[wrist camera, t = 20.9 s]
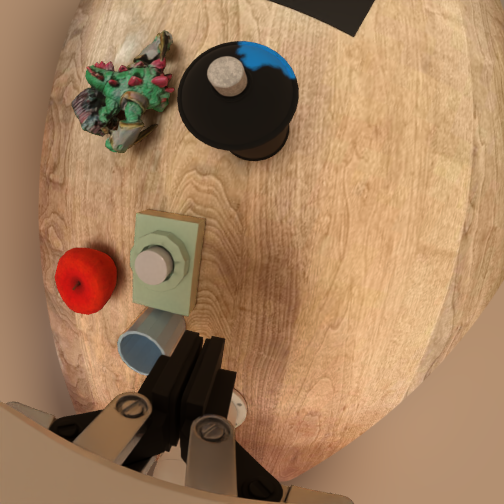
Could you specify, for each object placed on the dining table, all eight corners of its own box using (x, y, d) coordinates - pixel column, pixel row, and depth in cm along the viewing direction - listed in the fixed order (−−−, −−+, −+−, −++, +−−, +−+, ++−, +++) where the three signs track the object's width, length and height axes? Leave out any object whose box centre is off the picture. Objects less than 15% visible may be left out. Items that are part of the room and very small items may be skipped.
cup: (184, 346, 41) (166, 382, 33) (143, 335, 41) (119, 366, 33) (187, 308, 39) (167, 340, 31) (143, 296, 39) (116, 324, 31)
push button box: (195, 305, 39) (184, 324, 33) (142, 292, 39) (125, 308, 34) (206, 218, 35) (193, 227, 30) (148, 209, 36) (128, 215, 30)
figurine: (111, 183, 30) (217, 108, 27) (38, 116, 21) (147, 16, 17) (124, 137, 38) (206, 78, 35) (71, 83, 29) (156, 13, 25)
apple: (76, 240, 38) (44, 254, 30) (122, 238, 37) (91, 253, 30) (87, 294, 40) (59, 315, 33) (132, 297, 39) (106, 322, 32)
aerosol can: (267, 173, 33) (254, 173, 14) (208, 141, 33) (127, 108, 14) (301, 116, 31) (331, 48, 12) (241, 85, 31) (201, -3, 11)
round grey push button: (171, 282, 33) (165, 288, 31) (141, 275, 33) (133, 281, 31) (174, 249, 31) (168, 254, 29) (143, 243, 32) (135, 247, 30)
